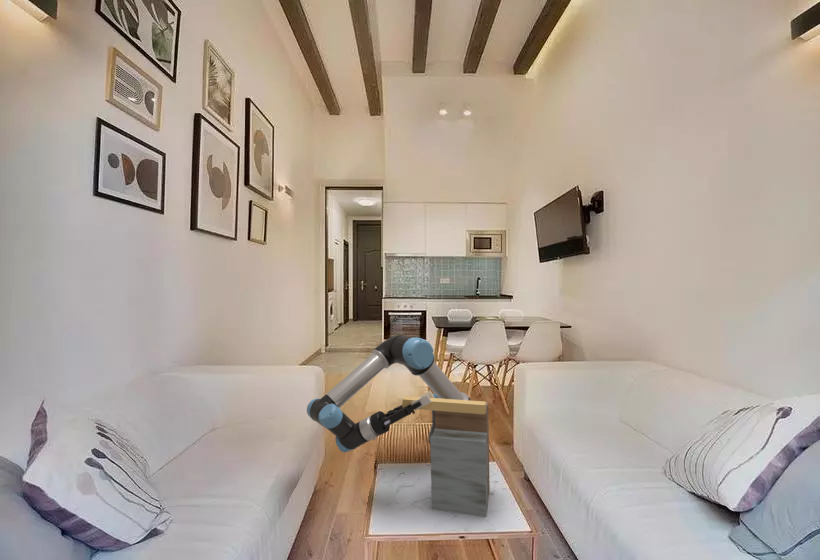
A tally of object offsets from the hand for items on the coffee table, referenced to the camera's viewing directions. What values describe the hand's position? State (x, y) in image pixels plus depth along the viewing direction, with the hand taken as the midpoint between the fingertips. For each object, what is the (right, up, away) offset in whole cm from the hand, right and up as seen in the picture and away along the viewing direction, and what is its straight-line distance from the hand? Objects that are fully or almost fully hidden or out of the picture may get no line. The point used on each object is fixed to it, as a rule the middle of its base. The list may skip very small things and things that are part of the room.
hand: (430, 396), depth 137 cm
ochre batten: (+4, -4, -1) cm, 6 cm away
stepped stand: (+11, -36, +2) cm, 38 cm away
